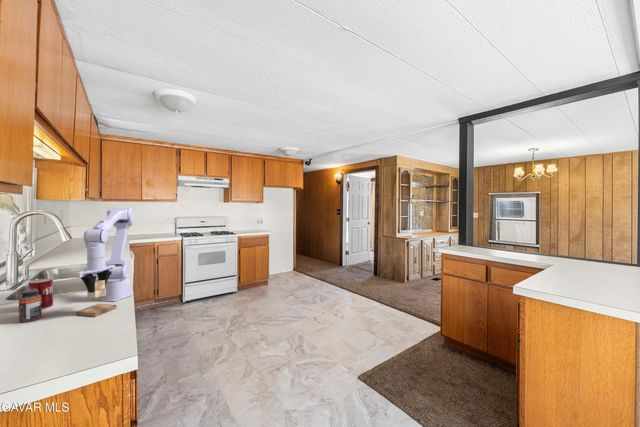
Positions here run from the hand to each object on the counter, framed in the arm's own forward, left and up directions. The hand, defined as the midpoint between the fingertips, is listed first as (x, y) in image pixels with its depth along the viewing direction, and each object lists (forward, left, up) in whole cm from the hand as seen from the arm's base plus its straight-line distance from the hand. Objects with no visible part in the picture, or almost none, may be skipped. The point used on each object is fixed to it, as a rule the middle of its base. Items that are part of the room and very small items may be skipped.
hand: (96, 290), depth 110 cm
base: (0, 0, -9) cm, 9 cm away
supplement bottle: (+11, -17, -9) cm, 23 cm away
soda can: (+1, -27, -9) cm, 29 cm away
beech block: (0, 0, -2) cm, 2 cm away
